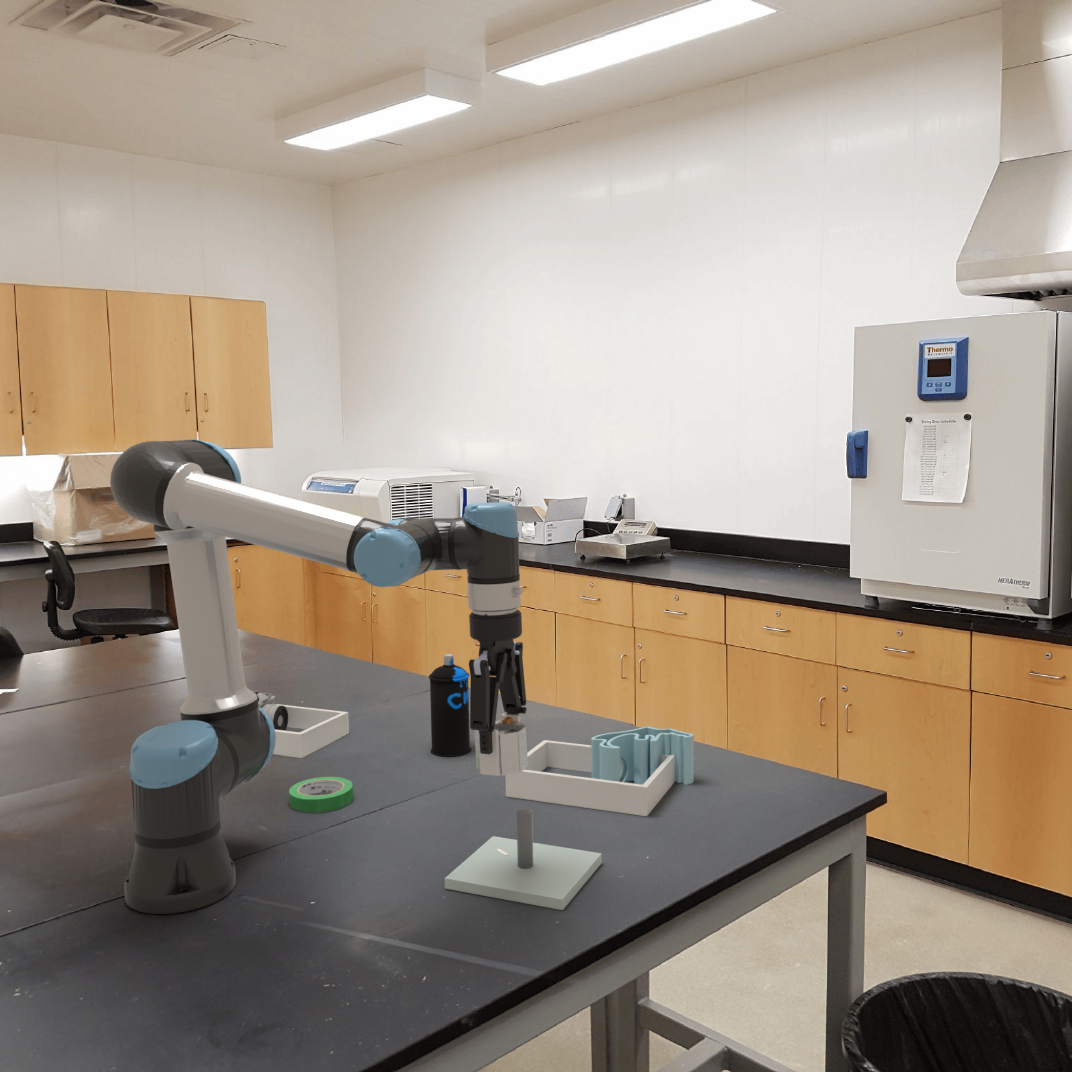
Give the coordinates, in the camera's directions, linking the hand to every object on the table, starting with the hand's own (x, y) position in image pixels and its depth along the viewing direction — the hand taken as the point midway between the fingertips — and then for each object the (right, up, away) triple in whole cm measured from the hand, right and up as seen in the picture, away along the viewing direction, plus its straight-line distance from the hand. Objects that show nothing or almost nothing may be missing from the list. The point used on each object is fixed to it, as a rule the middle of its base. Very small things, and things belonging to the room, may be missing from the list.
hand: (501, 765), depth 147 cm
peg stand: (+4, -16, 0) cm, 17 cm away
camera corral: (-50, -10, +67) cm, 84 cm away
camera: (-54, -10, +69) cm, 88 cm away
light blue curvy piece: (+24, -13, +37) cm, 46 cm away
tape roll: (-33, -14, +32) cm, 48 cm away
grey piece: (0, 0, 0) cm, 0 cm away
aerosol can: (-12, -11, +58) cm, 60 cm away
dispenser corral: (+15, -12, +35) cm, 40 cm away
